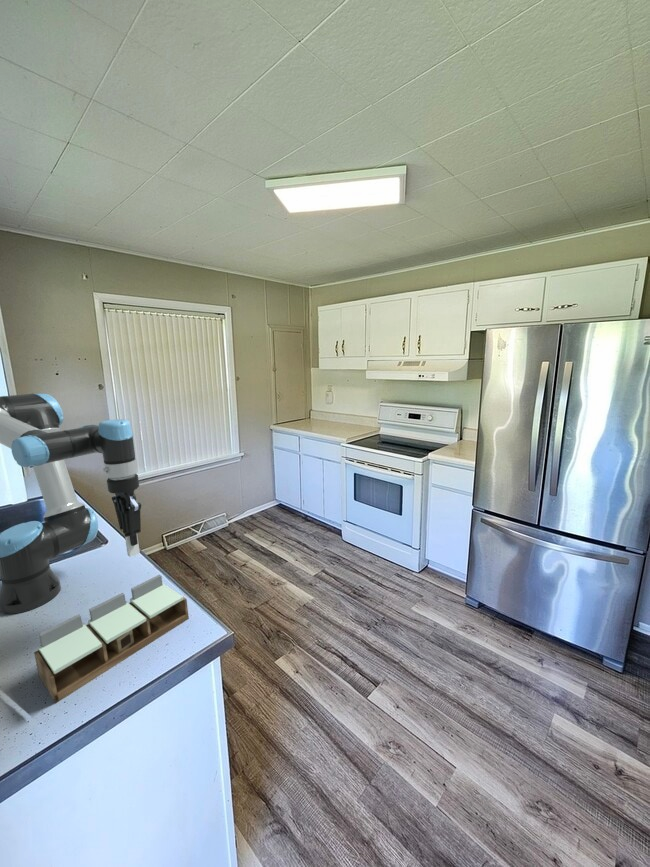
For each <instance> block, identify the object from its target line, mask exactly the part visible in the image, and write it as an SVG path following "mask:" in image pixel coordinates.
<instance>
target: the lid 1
mask: <svg viewBox="0 0 650 867" xmlns="http://www.w3.org/2000/svg"><path fill="white" fill-rule="evenodd" d="M86 625H87V624H85V623H84V622H83V621H82V616H81V615H80V613H78V614H76V615H74V616H73V617H70V618H68V619H66V620H64V621H62V622H61V623H58V624H56V625H54V626H51V627H50V628H48V629H46V630H44V631H41V632H40V633H39V634H38V636H39V641H40V645H38V646H37V649H38V650H39V651H40V653H41V654H42V656H43V657H44V659H45V660H46V662H47V664H48V665H49V667H50V668H51V670H52V671H53V673H54V674H56V673H58V672H59V671H61V670H63V669H65V668H66V667H68V666H70V665H71V664H73V663H75V662H77V661H78V660H80V659H82V658H83V657H85V656H87V655H89V654H90V653H92V652H94V651H95V650H97V649H99V648H101V647H102V643H101V642H100V641H99V640H98V639H97V638H96V636H95V635H94V634H93V633H92V632H91V631H90V630H89V629H88V628H87V626H86ZM38 650H37V651H38Z"/></svg>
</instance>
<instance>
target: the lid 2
mask: <svg viewBox="0 0 650 867" xmlns="http://www.w3.org/2000/svg"><path fill="white" fill-rule="evenodd" d="M129 603H130V602H128V601H127V600H126V595H125V594H124V592H121V593H119V594H117V595H115V596H113V597H111V598H109V599H106V600H105V601H103V602H101V603H98V604H97V605H94V606H92V607H90V608H89V609H88V611H89V612H88V613H89V615H90V616H89V617H90V619H88V620H87V625H88V624H89V625H90V626H91V627H92V628H93V629H94V630H95V631H96V632H97V633H98V634H99V636H100V637H101V638H102V639H103V640H104V641H105V642H106V643H107V644H108V643H109V642H111V641H113V640H114V639H116V638H118V637H120V636H121V635H123V634H125V633H126V632H128V631H130V630H132V629H133V628H135V627H137V626H139V625H140V624H142V623H144V622H145V621H146V618H145V617H144V616H143V615H142V614H141V613H139V612H138V611H137V610H136V609H135V608H134V607H132V606H131V605H130V604H129Z"/></svg>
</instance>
